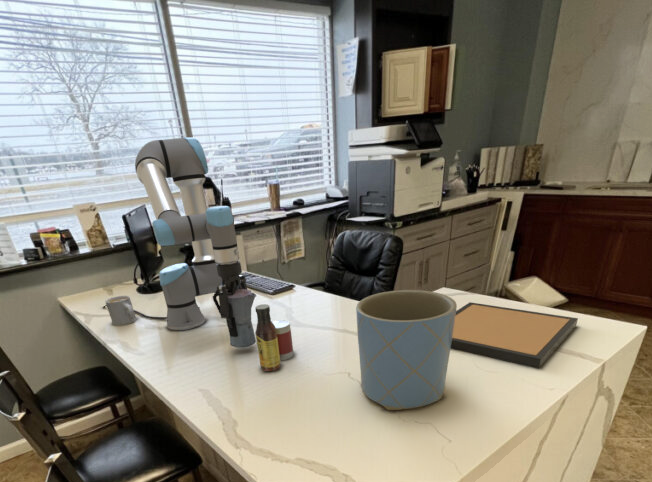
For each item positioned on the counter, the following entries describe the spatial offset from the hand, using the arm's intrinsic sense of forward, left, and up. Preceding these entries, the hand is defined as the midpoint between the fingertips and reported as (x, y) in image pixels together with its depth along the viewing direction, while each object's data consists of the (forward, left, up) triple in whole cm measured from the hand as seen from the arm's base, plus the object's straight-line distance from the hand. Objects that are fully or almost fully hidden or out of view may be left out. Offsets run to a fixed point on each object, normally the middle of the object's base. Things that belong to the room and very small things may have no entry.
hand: (240, 331), depth 137 cm
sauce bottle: (+16, -11, -7) cm, 21 cm away
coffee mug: (-69, +17, -7) cm, 71 cm away
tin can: (+16, -2, -7) cm, 17 cm away
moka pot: (0, 0, -4) cm, 4 cm away
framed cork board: (+80, +27, -7) cm, 85 cm away
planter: (+57, -16, -7) cm, 60 cm away
